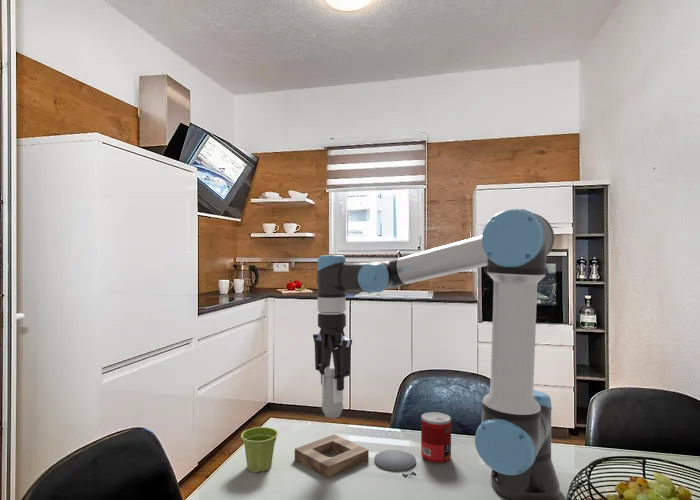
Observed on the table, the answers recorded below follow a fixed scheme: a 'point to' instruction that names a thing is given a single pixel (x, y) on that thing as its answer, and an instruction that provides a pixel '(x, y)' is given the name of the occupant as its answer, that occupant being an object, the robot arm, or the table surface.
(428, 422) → the canned food
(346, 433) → the table surface
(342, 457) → the collar block
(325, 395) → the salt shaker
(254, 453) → the plant pot
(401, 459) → the coaster
